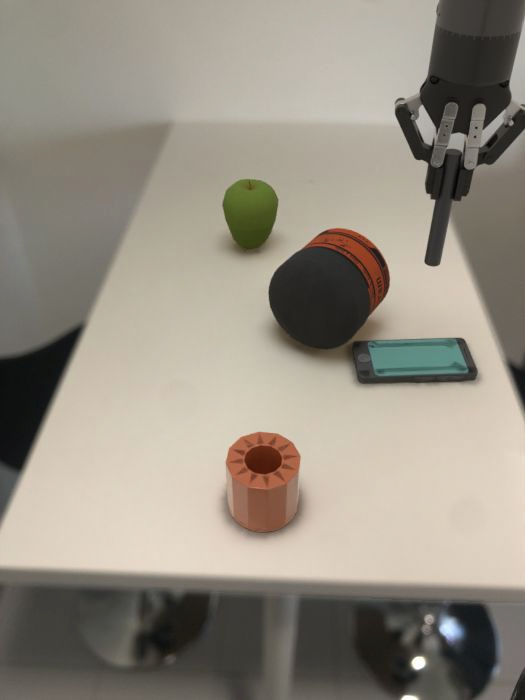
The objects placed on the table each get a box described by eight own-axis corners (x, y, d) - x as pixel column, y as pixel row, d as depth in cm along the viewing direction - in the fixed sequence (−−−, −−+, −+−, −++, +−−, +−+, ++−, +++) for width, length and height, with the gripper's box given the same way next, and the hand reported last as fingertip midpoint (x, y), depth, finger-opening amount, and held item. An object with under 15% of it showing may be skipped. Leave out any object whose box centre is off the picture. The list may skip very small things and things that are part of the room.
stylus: (440, 270, 76) (463, 156, 68) (423, 269, 77) (444, 155, 68) (439, 261, 78) (461, 148, 69) (423, 260, 78) (443, 147, 69)
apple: (234, 265, 105) (232, 198, 97) (216, 239, 111) (213, 173, 103) (286, 254, 107) (287, 187, 100) (266, 228, 113) (266, 164, 106)
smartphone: (351, 339, 89) (464, 336, 90) (350, 347, 90) (462, 343, 91) (359, 377, 84) (480, 373, 84) (359, 385, 85) (478, 381, 85)
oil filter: (385, 324, 94) (397, 243, 85) (343, 374, 86) (352, 290, 78) (304, 293, 99) (308, 215, 91) (258, 338, 91) (257, 256, 83)
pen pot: (293, 536, 68) (296, 492, 63) (222, 527, 68) (220, 484, 64) (300, 479, 73) (303, 435, 69) (235, 472, 74) (233, 428, 69)
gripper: (401, 29, 58) (378, 209, 69) (567, 36, 57) (517, 219, 68) (400, 6, 64) (379, 177, 75) (551, 12, 62) (507, 185, 74)
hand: (445, 196), depth 71 cm, fingers closed on stylus, 2 cm apart
